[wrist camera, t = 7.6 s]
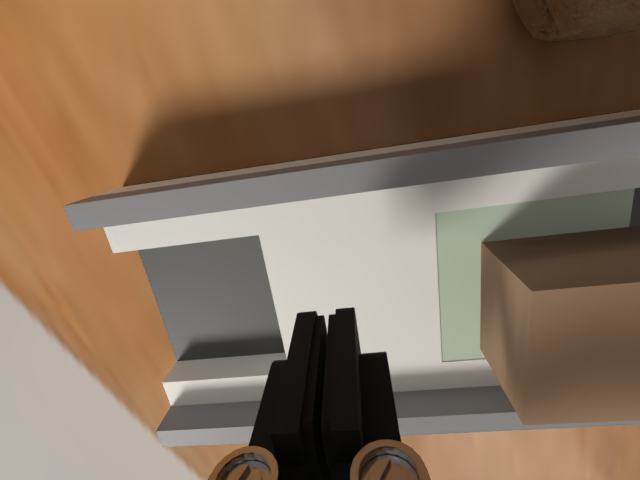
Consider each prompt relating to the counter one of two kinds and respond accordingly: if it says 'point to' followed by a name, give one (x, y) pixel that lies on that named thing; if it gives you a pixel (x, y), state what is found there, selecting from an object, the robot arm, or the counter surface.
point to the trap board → (360, 262)
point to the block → (578, 18)
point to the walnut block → (564, 324)
